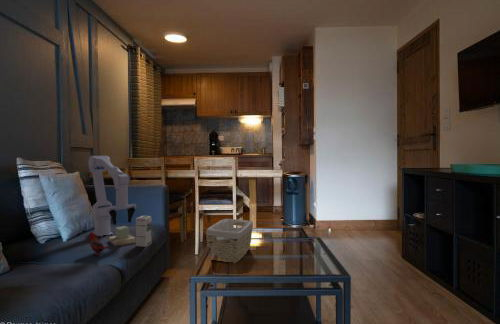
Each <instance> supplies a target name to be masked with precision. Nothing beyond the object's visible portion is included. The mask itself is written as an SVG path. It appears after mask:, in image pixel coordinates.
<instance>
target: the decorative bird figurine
mask: <svg viewBox="0 0 500 324" xmlns="http://www.w3.org/2000/svg"><path fill="white" fill-rule="evenodd" d="M93 232H94V231H93ZM93 232H89V235H88V237H89V245H90V247H91V249H92V251H93V254H94V255H95V256H98V257H99V254H100V253H102V252H103V251H104V250H106V249H109V247H108V246H104V244H103V243H102V241H100V239H98V238H97V237H98V236H97V235H95V234H94V233H93Z"/></svg>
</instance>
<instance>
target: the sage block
mask: <svg viewBox="0 0 500 324" xmlns="http://www.w3.org/2000/svg"><path fill="white" fill-rule="evenodd" d="M129 234H130V228H129V227H128V226H127V225H123V226H116V227H115V236H116V237H117V238H118V239H124V238H129Z"/></svg>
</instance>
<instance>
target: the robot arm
mask: <svg viewBox="0 0 500 324" xmlns="http://www.w3.org/2000/svg"><path fill="white" fill-rule="evenodd" d="M87 162H88V168H89V172H91V173H92V180H93V184H94V190H95V191H94V192H95V198H96V203H94V204H93V205H92V214H91V215H92V217H93V218H94V219H95V220H94V231H93V233H94V234H95V235H96V237H98V236H100V237H104V236H103V235H106V236H111V234H112V235H114V233H113V232H112V231H111V220H112V224H113V226H116V225H117V215H118V214H117V211H120V210H126V211H127V222H128V223H131V222H132V219H133V215H134V213H135V212H136V209H137V204H136V203H130V204H129V187H128V186H129V184H130V182H131V176H130V175H129V174H128V173H124V172H123V171H122V170H121V169H120V168H119V167H118V166H114V164H113V163H111V157H109V155H90V156H89V158H88V161H87ZM106 170H107V173H108V176H109V177H111V178H112V180H113V184H114V189H115V205H113V204H112V202H110V201H109V200H107V193H106V188H105V182H104V176H103V172H106Z"/></svg>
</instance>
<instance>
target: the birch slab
mask: <svg viewBox="0 0 500 324" xmlns="http://www.w3.org/2000/svg"><path fill="white" fill-rule="evenodd" d="M109 240H110V241H111V242H113V243H114V244H115V245H121V246H125V245H130V244H134V243H136V237H134V236H133V235H131V234H130V233H129V238H124V239H118V238H117V237H116V235H113V236H111V235H110V236H109V237H108V241H109ZM115 245H114V246H115Z"/></svg>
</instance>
